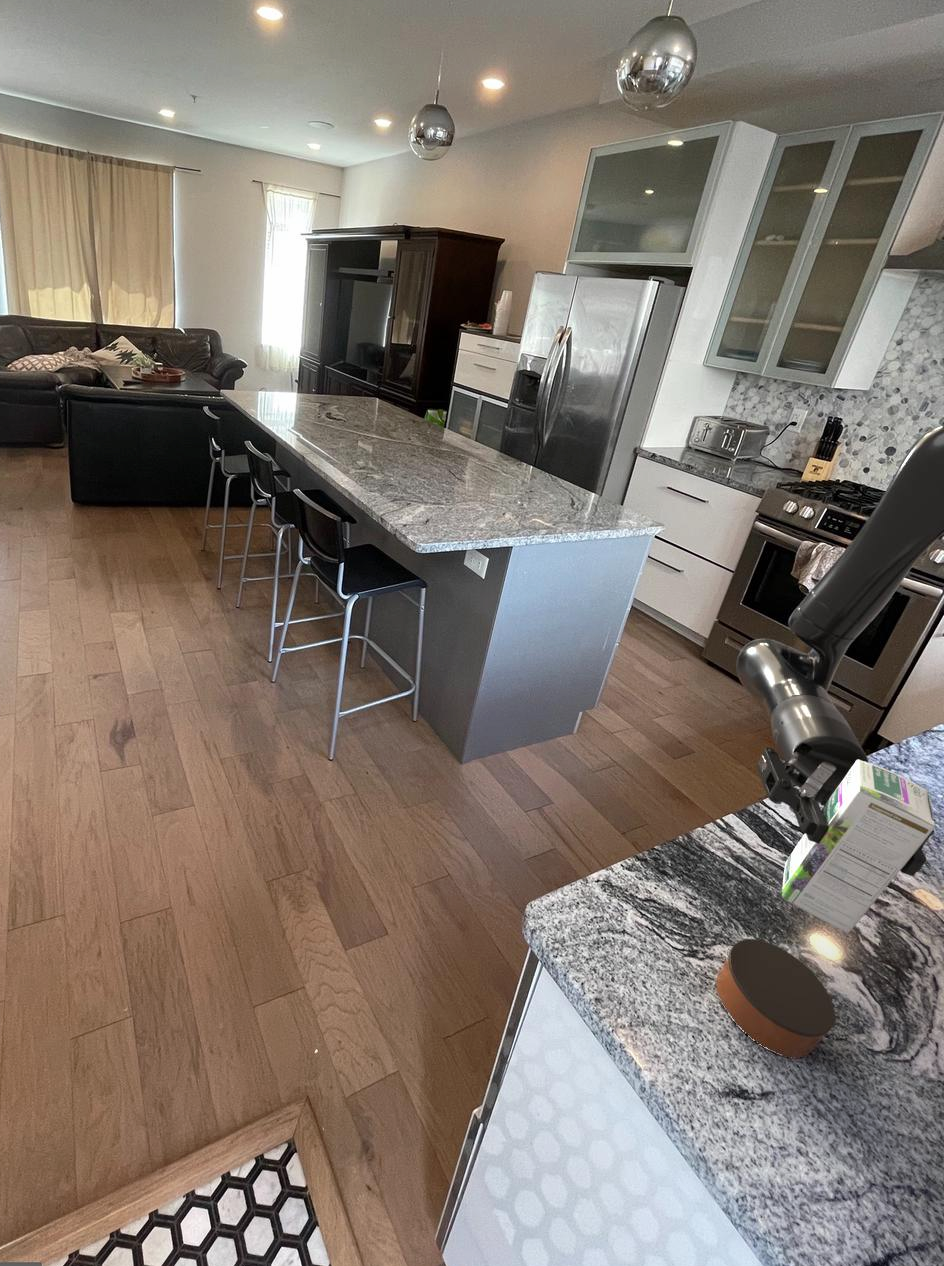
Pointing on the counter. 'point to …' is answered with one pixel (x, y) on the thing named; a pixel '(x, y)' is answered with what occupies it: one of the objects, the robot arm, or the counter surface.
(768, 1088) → the counter surface
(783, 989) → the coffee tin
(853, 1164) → the counter surface
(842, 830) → the syrup box
